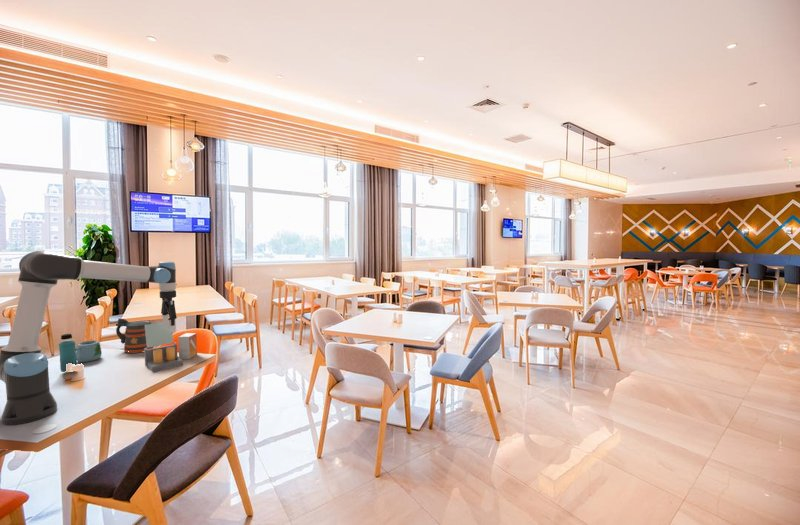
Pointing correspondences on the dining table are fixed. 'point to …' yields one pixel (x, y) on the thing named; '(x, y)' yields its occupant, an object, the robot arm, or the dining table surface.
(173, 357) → the peg
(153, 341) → the lid
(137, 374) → the dining table surface
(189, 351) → the small box
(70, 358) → the beverage bottle
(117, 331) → the beer stein
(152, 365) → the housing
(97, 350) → the mug
